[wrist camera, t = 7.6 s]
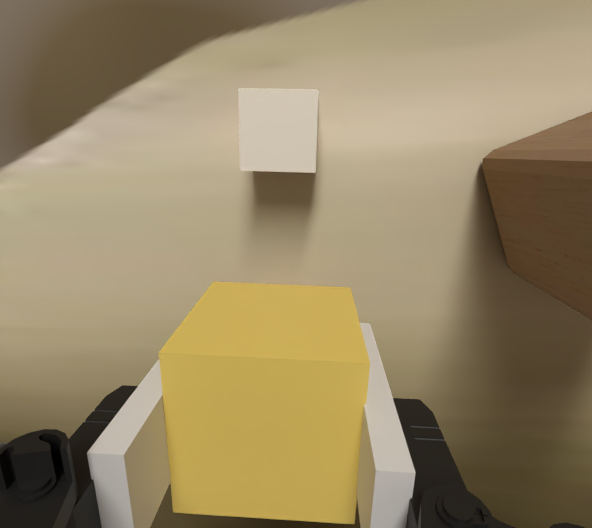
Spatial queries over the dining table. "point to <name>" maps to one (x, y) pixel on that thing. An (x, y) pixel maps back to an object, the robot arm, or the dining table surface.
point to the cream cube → (278, 129)
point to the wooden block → (547, 209)
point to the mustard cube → (266, 403)
